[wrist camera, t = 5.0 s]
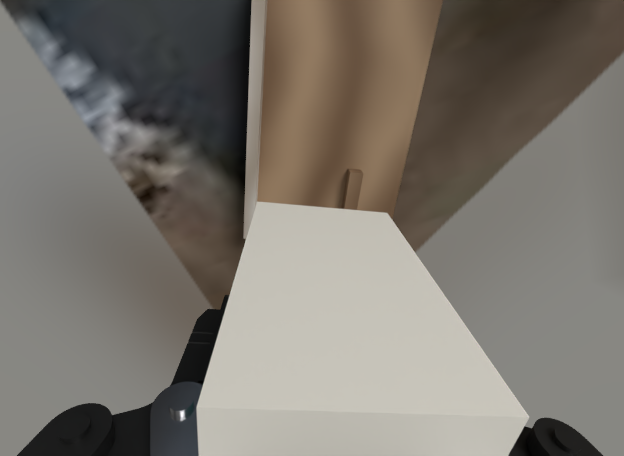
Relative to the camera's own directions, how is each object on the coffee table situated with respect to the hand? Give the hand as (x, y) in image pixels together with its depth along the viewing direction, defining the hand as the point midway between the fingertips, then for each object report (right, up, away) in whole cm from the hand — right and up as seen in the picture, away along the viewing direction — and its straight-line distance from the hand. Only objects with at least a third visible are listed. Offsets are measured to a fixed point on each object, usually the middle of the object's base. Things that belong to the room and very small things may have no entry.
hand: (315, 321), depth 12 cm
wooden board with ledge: (+1, +11, +14) cm, 18 cm away
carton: (0, +1, +2) cm, 2 cm away
